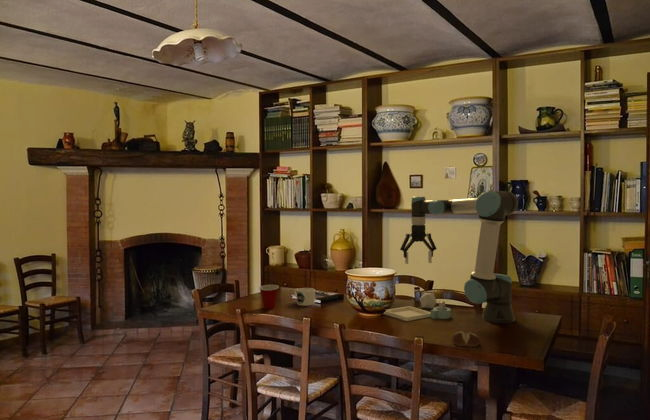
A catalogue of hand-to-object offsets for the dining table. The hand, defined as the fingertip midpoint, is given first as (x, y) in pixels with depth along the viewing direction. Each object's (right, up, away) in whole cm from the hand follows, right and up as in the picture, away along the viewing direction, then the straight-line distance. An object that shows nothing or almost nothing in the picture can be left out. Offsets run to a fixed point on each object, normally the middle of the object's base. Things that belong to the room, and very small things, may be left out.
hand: (418, 263), depth 282 cm
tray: (-9, -25, -17) cm, 32 cm away
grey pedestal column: (+8, -25, -21) cm, 34 cm away
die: (+5, -25, 0) cm, 25 cm away
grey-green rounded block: (+7, -25, -22) cm, 34 cm away
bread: (+8, -28, -65) cm, 71 cm away
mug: (-63, -24, +10) cm, 69 cm away
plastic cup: (-82, -25, -2) cm, 86 cm away
